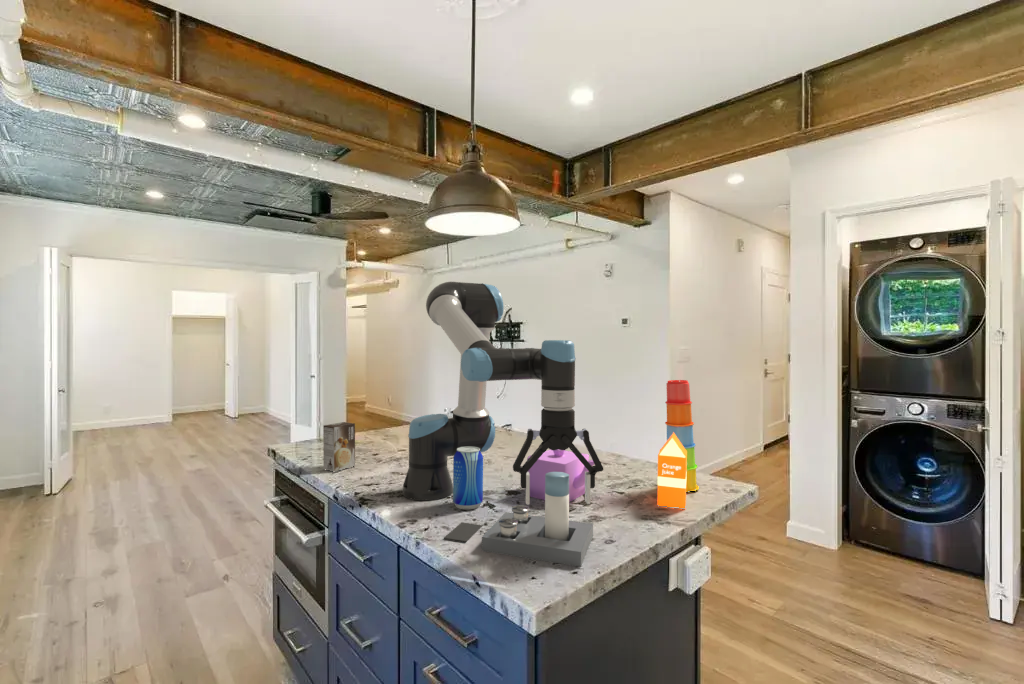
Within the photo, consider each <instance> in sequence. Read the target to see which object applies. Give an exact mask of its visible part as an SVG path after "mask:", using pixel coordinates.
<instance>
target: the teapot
mask: <svg viewBox="0 0 1024 684" xmlns="http://www.w3.org/2000/svg"><path fill="white" fill-rule="evenodd" d="M580 453H581V454H582V455H583V456H584V457H585V459H586V460H587V461H588V462H589V463H590V465H591V466H595V464H594V462H593V460H592V459H591V460H590V454H588V453H583V452H580ZM531 455H532V454H531ZM531 455H529V456H527V459H526V461H527V460H528V459H529V458H530V457H531ZM528 472H529V474H530V497H531V498H534V499H537V500H543V501H545V474H546V473H549V472H564V473H567V474H569V503H570V502H572V501H574V500H576V499H578V498H580V497H582V496H583V495H585V472H589V471H588V470H587V468H586V467H585V466H584V465H583V464H582V463H581V461H580V460H579V459H578V458H577V457H576V455H575V454H574V453H573V452H572V451H571V450H559V449H558V450H551V449H549V450H548V449H547V450H546V451H545V452H544V453H543V454H542V455H541V456H540V458H539V459H538V460H537V461H536V462H535V464H534V465H533V466H532V467H531V468H530V469H529V471H528Z"/></svg>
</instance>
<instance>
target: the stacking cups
mask: <svg viewBox="0 0 1024 684" xmlns="http://www.w3.org/2000/svg"><path fill="white" fill-rule="evenodd" d="M665 386H666V401H665V404H666V421H665V422H664V424H665V425H666V441H667V440H668V439H669V438H670V437H671V435H672V434H673V432H674V434H675V435H676V437H677V438H678V439H679V441H680V442H681V444H682V445H683V447H684V448H685V450H686V451H687V460H686V472H687V473H686V492H688V491H695V492H697V491H699V489H700V488H699V487H700V486H699V485H698V484H697V469H698V464H696V454H695V453H696V452H695V447H696V443H695V442H694V428H693V425H694V424H695V422H693V419H692V418H693V417H692V416H693V415H692V404H693V402H692V401H691V390H690V382H689V381H688V380H687V379H686V380H685V379H673V380H672V379H671V380H667V382H666V385H665ZM695 489H696V490H697V491H696V490H695ZM688 493H689V492H688Z"/></svg>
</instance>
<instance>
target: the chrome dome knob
mask: <svg viewBox="0 0 1024 684" xmlns="http://www.w3.org/2000/svg"><path fill="white" fill-rule="evenodd" d="M499 525H500V537H503V538H510V539H515V538H516V530H517V525H518V521H517V520H515V519H511V518H505V519H501V520H500V521H499Z"/></svg>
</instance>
